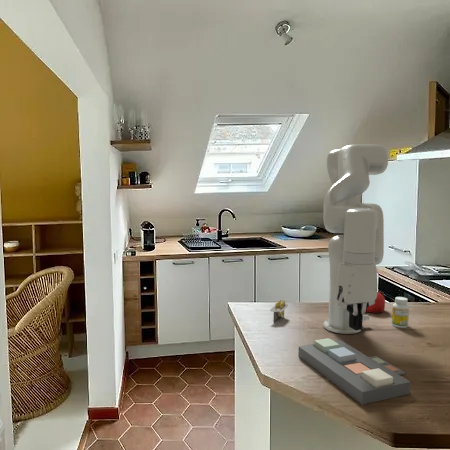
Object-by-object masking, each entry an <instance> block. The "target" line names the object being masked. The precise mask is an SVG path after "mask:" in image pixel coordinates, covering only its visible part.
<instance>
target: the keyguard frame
mask: <svg viewBox="0 0 450 450" xmlns="http://www.w3.org/2000/svg"><path fill="white" fill-rule="evenodd" d="M334 341H335V342H336V343H338V344H339V348H341V347H345V348H346V349H348V350H349V351H351V352H353V353H354V354H355V360H354V361H348V362H343V363H338V362H336V361H335V360H334V359H332V358H331V357H329V356H328V352H326V353H323V352H322V351H320V350H319V349H317V348H316V347H314V343H311V344H310V343H309V344H303V345H298V354H297V355H298V357H299V358H300V359H301V360H302V361H304V362H305V363H306V364H308V365H309V366H310V367H312V368H313V369H315V371H318V373H320V374H321V375H322V376H324V377H325V378H326V379H328V380H329V381H330V382H332V383H333V384H334V385H336V386H337V387H338V388H339V389H341V390H342V392H344V393H346V394H347V395H349V396H350V397H351V398H352V399H354V400H355V401H356V402H358V403H360V404H361V405H366V404H370V403H371V404H372V403H374V402H375V403H376V402H380V401H383V400H387V399H393V398H397V397H401V396H406V395H410V394H411V381H410V380H409V379H407V378H405V377H403V375H398V374H397V373H395V372H393V371H392V370H390V369H388V368H387V367H385V366H383V365H381V364H380V363H378V362H376V361H375V360H373V359H371V358H370V357H371V356H368V355H366V354H364V353H363V352H361V351H359V350H358V349H356V348H354V347H353V346H351V345H350V344H348V343H346V342H344V341H343V340H340V339H335V340H334ZM355 363H361V364H363V365H365V366H366V367H368V368H369V369H371V370H372V369H377V368H379V369H381V370H382V371H384V372H385V373H387V374H389V375H390V376H392V377H393V384H391V385H386V386H382V387H377V388H375V387H373V386H372V385H370V384H369V383H368V382H366V381H365V380H363V379H362V374H358V375H356V374H354V373H353V372H351V371H350V370H348V369H347V368H345V367H344V365H350V364H355Z"/></svg>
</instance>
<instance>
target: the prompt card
mask: <svg viewBox="0 0 450 450" xmlns="http://www.w3.org/2000/svg"><path fill="white" fill-rule="evenodd" d="M369 357H370V358H371V359H373V360H375V361H376V362H378V363H380V364H381V365H383V366H385V367H387V368H388V369H390V370H392V371H393V372H395V373H397V374H398V375H400V376H403V375H405V374H406V371H405V370H404V371H403V370H402V369H400V368H399V367H397V366H395V365H394V364H391V363H390V362H389V361H386V360H384V359H382V357H379V356H377V355H374V356H369Z"/></svg>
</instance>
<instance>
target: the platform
mask: <svg viewBox="0 0 450 450" xmlns="http://www.w3.org/2000/svg"><path fill="white" fill-rule="evenodd" d="M288 307H289V305H288V303H286V300H284V299H280V300H278V301H277V302H276V303H275V305H274V306H273V307H271V308H270V310H269V312H271V313H273V320H272V321H273V323H275V322H276V321H277V320H279V318H282V319H283V318H285V310H286V308H288Z"/></svg>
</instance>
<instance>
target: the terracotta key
mask: <svg viewBox="0 0 450 450" xmlns="http://www.w3.org/2000/svg"><path fill="white" fill-rule="evenodd" d="M344 367H345V368H347V369H348V370H350V371H351V372H353V373H354V374H356V375H358V374H362V371H367V370H371V369H369V368H368V367H366V366H365V365H363V364H361V363H355V364H350V365H344Z"/></svg>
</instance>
